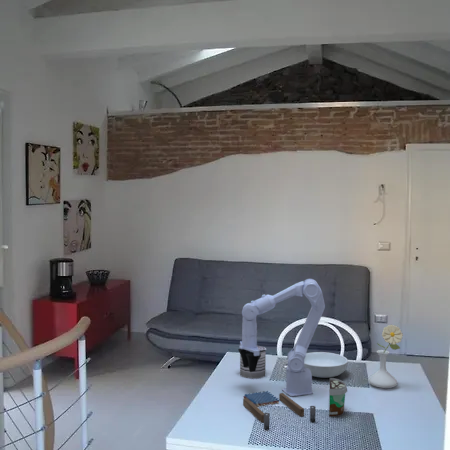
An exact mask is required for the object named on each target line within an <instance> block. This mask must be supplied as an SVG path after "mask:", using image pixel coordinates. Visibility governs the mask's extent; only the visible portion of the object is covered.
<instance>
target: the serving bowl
mask: <svg viewBox="0 0 450 450" xmlns="http://www.w3.org/2000/svg"><path fill="white" fill-rule="evenodd" d="M304 363H305V364H304V367H305V368H308V369H309V370H310V371H311V374H312V377H316V378H319V379H320V378H321V379H323V378H325V379H326V378H327V379H328V378H329V379H330V378H334V377H337V376H340V375H341V374H343V373H344V372H345V371H346V370H347V367H348V363H349V360H348V358H347V357H345V356H343V355H341V354H338V353H333V352H328V351H327V352H324V351H313V352H307V353H306V357H305V359H304Z"/></svg>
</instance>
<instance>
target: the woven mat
mask: <svg viewBox="0 0 450 450" xmlns="http://www.w3.org/2000/svg"><path fill="white" fill-rule="evenodd" d="M242 397H243V398H248V399H249V400H250V401H251V402H252V403H253V404H254V405H255V406H257V407H258V408H259V407H265V406H269V405H276V404H277V405H278V404H279V403H280V400H279V397H277V396H275V395H274V394H272V393H271V392H270V391H269V390H267V391H259V392H252V393H245V394H244V395H243V396H242Z"/></svg>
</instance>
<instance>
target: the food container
mask: <svg viewBox="0 0 450 450" xmlns="http://www.w3.org/2000/svg"><path fill="white" fill-rule="evenodd" d="M328 390H329V394H328V395H329V399H328V401H329V403H328V409H329V410H328V417H330V418H331V417H340V416H342V415H343V414H344V412H345V401H346V399H345V398H346V393H347V392H348V387H347V384H346V382H345V381H343V380H341V379H339V378H334V377H329V389H328Z"/></svg>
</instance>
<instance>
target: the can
mask: <svg viewBox="0 0 450 450" xmlns="http://www.w3.org/2000/svg"><path fill="white" fill-rule="evenodd" d="M257 347H258V350H259V353H260V354H261V357H260V358H259V360H258V363H257V366H256V370H255V372H250V371H249V367H244V366H243V362H242V358H241V355H240V354H239V356H240V357H239V360H240V361H239V376H240V377H242V378H245V379H251V380H257V379H263V378H265V377H266V367H267V366H266V360H267V359H266V351H267V348H266V347H265V346H262V345H261V346H260V345H257Z"/></svg>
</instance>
